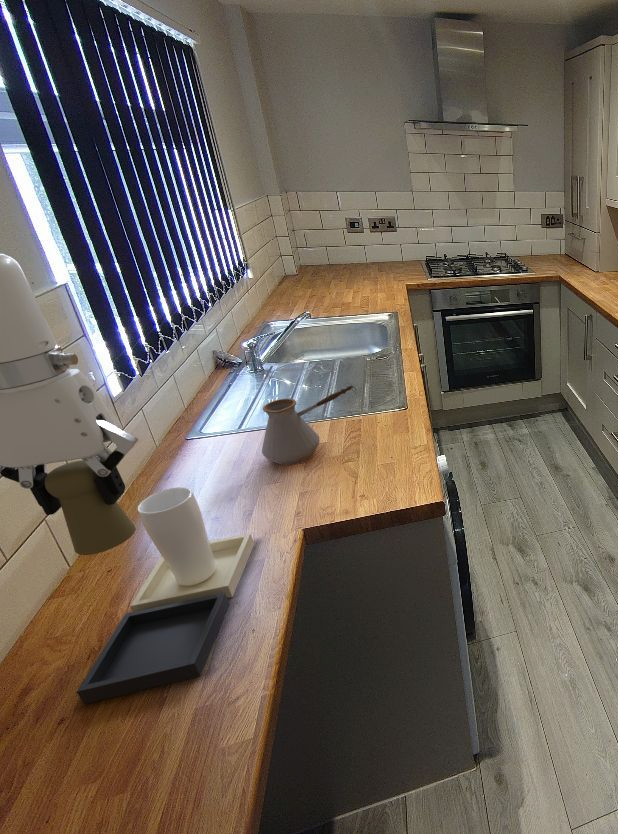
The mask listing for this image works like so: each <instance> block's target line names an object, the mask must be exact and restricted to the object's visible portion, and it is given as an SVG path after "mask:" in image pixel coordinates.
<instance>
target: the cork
mask: <svg viewBox="0 0 618 834" xmlns="http://www.w3.org/2000/svg"><path fill="white" fill-rule="evenodd" d="M47 474H48V475H47V476H46V478H45V488H46V490H47V491H48V492H49V493H50V494H51V495H52V496H54V497H57V498H59V501H60V504H61V510H62V513H63V517H64V520H65V524H66V527H67V530H68V533H69V537H70V541H71V543H72V547H73V550H74V553H76V554H77V555H81V556H90V555H91V556H92V555H98V554H100V553H104V552H107V551H110V550H111V549H115V548H117V547H118V546H120V545H122V544H123V543H125V542H126V541H127V540H128V541H129V539H130V538H131V537H133V535H134V534H135V532H136V531H137V528H136V525H135V524H134V523H133V521H132V520H131V518H130V517H129V516H128V514H127V513H126V512H125V510H123V508H122V507H121V505H120V504H119V503H118V500H117V501H116V503H115V504H112V505H107V504H105V502H104V500H103V498H102V496H101V494H100V492H99V490H98V488H97V486H96V484H95V481H94V480H95V478H96V477H97V476H98V475H97V474H96V473H95V472H94V471H93V470H92V469H91V468H90V467H89V466H88V465H87V464H86V463H85V462H84V461H83V460H82V459H79V460H73V461H70V462H67V463H65V464H64V463H63V464H61V465H59V466H57V467H55V468H53V469H52V470H51V471H50V472H47Z"/></svg>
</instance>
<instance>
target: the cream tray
mask: <svg viewBox="0 0 618 834" xmlns="http://www.w3.org/2000/svg"><path fill="white" fill-rule="evenodd" d="M253 539H254V538H253V537H252V534H251V533H245V534H241V535H234V536H229V537H224V538H219V539H214V540H213V539H212V540H209V543H210V547H211V550H212V554H213V557H214V559H215V562H216V566H217V567H216V570H215V572H214V573H213V575H212V576H210V577H209V578H208V579H206V580H205V581H203V582H201V583H199V584H196V585H192V586H182V585H180V584H178V583H177V581H176V579H175V577H174V575H173V573H172V571H171V570H170V568H169V566H168V565H167V563H166V562H165V560H164V558H163V557H162V555H161V556H160V557H159V559H158V560H157V562H156V564H155V565H154V567H153V569H152V570H151V571H150V573H149V575H148V576H147V578H146V580H145V581H144V583H143V585H142V586H141V587H140V589H139V591H138V593H137V594H136V595H135V597H134V598H133V601H132V602H131V604H130V605H129V607H130V609H131V612H136V611H140V610H145V609H150V608H155V607H159V606H164V605H169V604H173V603H178V602H183V601H188V600H192V599H197V598H202V597H207V596H211V595H216V594H221V593H225V594H226V596H227V599H230V598H233V597H234V594H235V592H236V591H237V588H238V585H239V583H240V581H241V578H242V575H243V574H244V571H245V568H246V566H247V563H248V561H249V559H250V556H251V553H252V551H253V549H254V546H255V542H254V540H253Z"/></svg>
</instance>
